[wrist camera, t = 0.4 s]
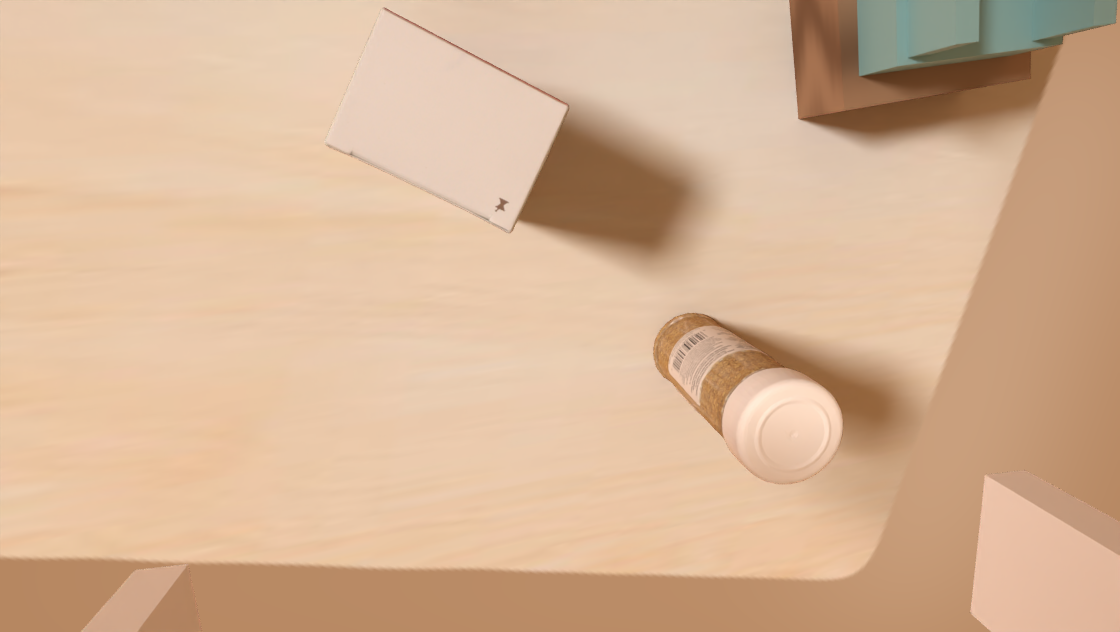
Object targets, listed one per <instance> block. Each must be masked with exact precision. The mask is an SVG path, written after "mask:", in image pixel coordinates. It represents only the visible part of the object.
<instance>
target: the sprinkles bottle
mask: <svg viewBox="0 0 1120 632" xmlns="http://www.w3.org/2000/svg"><path fill="white" fill-rule="evenodd" d="M653 355H654V360H655V365H656V367H657V369H658V370H659V372H660V373H661V374H662V376H663V377H664V378H666V379H668V380H669V381H670V382H672V383H673V385H674V386H675V387H676V389H677V391H678V392H679V393H680V394H681V395H682V396H683V397H684V399H685V400H686V401H687V402H688V403H689V404H690V405H691V406H692V407H693V408H694V409H695V410H696V411H697V412H698V413H700V414H701V415H702V416H703V417H704V418H705V419H706V420H707V421H708V422H709V423H710V425H711V426H712V427H713V428H714V429H715V430H716V431H717V432H718V433H719V434H720V435H721V436H722V437H723V438H724V440H725V442H726V444H727V446H728V448H729V450H730V451H731V453H732V454H733V455H734V456H735V457H736V458H737V459H738V460H739V461H740V463H741V464H742V465H744V466H745V467H746V468H747V469H748V470H749V471H750V472H751V473H752V474H754V475H755V476H756V477H758V478H760V479H762V480H764V481H767V482H771V483H775V484H792V483H797V482H800V481H804V480H806V479H808V478H810V477H812V476H814V475H815V474H817V473H818V472H820V471H821V470H822V469H823V468H824V467H825V466H826V465H827V464H828V463H829V462H830V461H831V459H832V458H833V457H834V455H835V453H836V451H837V450H838V447H839V445H840V442H841V438H842V433H843V417H842V413H841V409H840V407H839V405H838V403H837V401H836V399H835V398H834V396H833V395H832V394H831V393H830V392H829V391H828V390H827V389H826V388H824V387H823V386H822V385H820V384H819V383H817V382H816V381H814V380H813V379H811V378H809V377H808V376H806V375H805V374H803V373H801V372H798V371H796V370H793V369H789V368H785V367H784V366H782V365H780V364H779V363H778V362H776V361H775V360H774V359H773V358H771V357H770V356H769V355H767V354H765V353H764V352H762V351H760V350H759V349H757V348H756V347H754V346H753V345H751V344H749V343H748V342H746V341H745V340H743V339H741V338H740V337H738V336H737V335H735V334H733V333H732V332H730V331H728V330H727V329H724V328H722V327H720V326H719V325H718V324H717V323H716V322H715V321H714V320H713V319H711V318H709V317H707V316H705V315H703V314H697V313H687V314H683V315H679V316H677V317H674V318H673V319H672V320H670V321H669V322H667V323H666V324H665V326H664V327H663V328H662V329H661V330H660V332H659V333H658V335H657V337H656V340H655V343H654V352H653Z"/></svg>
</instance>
